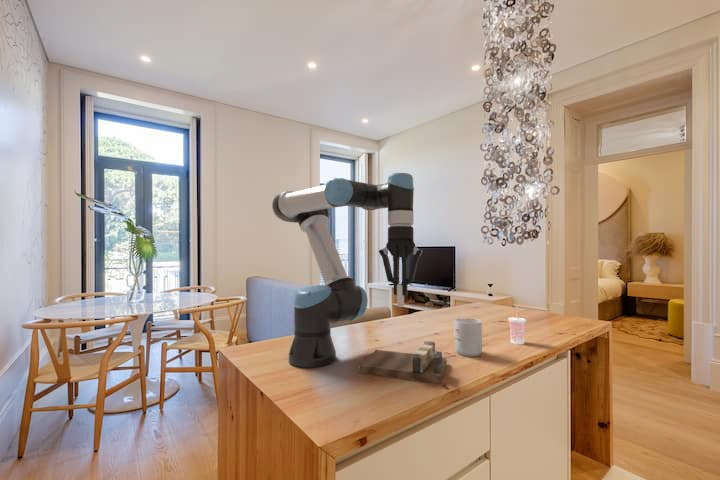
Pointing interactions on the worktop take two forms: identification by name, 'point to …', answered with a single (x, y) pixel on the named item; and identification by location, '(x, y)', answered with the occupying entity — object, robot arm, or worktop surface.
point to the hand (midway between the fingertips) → (400, 306)
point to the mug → (468, 336)
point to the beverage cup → (517, 329)
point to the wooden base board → (403, 366)
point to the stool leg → (423, 357)
